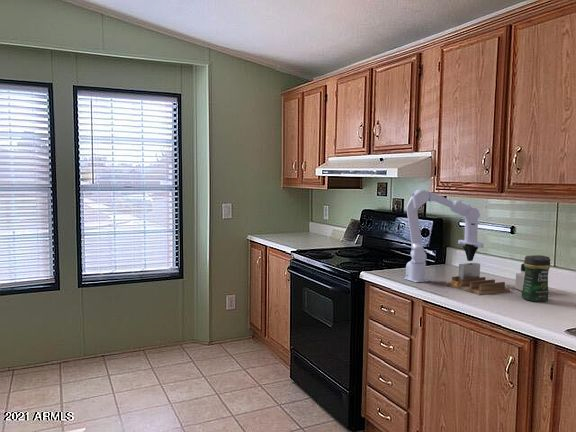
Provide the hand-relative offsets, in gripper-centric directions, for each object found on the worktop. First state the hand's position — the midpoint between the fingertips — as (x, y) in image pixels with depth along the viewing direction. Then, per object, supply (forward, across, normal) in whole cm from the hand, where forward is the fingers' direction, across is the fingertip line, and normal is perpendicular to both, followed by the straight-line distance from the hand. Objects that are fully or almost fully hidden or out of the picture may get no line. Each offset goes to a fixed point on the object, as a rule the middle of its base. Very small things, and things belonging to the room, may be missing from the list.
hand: (469, 260), depth 232 cm
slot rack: (+10, -11, +6) cm, 16 cm away
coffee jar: (+11, -36, -1) cm, 38 cm away
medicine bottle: (+11, -22, -13) cm, 28 cm away
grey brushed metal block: (+9, -6, +6) cm, 12 cm away
